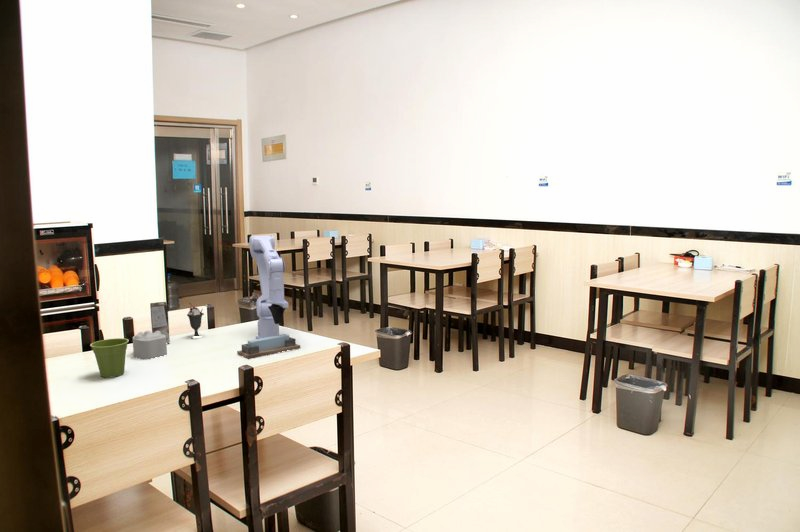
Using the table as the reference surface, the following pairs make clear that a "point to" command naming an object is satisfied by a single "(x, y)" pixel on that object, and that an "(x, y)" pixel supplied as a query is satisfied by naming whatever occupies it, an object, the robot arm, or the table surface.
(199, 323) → the sundae
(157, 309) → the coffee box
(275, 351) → the board
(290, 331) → the table surface
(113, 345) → the plant pot
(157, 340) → the lumpy-topped squat cylinder
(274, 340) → the slat
